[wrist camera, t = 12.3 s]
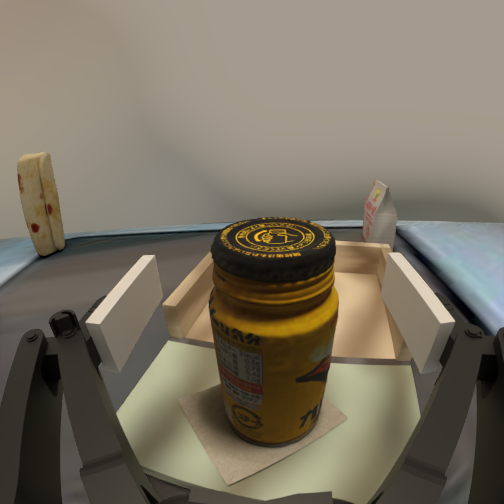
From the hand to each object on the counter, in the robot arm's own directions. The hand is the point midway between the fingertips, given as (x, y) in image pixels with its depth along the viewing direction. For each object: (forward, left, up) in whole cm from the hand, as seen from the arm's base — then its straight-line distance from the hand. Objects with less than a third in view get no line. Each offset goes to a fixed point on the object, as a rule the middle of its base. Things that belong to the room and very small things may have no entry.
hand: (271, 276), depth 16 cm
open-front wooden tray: (+1, +5, -10) cm, 11 cm away
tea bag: (+12, +32, -10) cm, 35 cm away
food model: (-47, +20, -10) cm, 52 cm away
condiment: (0, -3, -9) cm, 9 cm away
